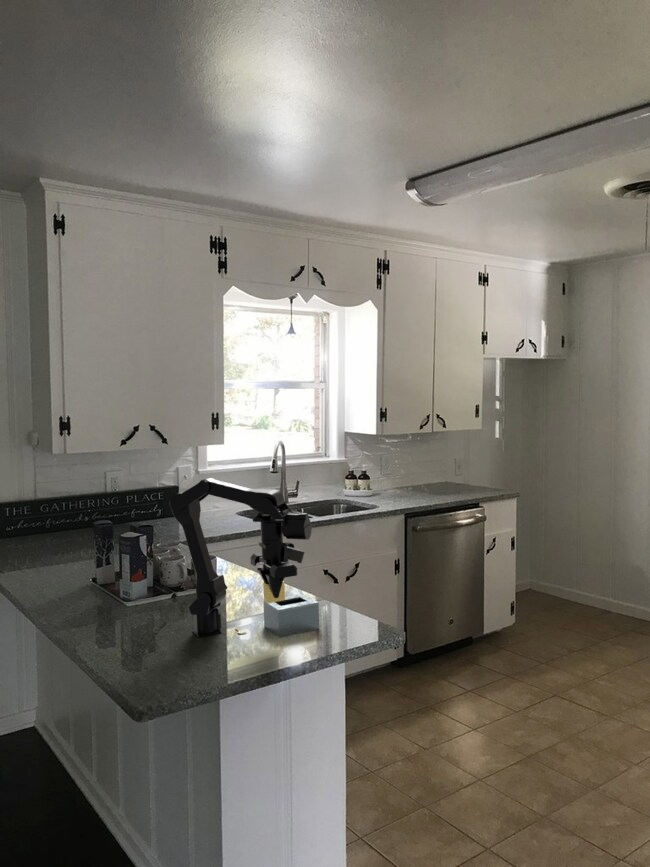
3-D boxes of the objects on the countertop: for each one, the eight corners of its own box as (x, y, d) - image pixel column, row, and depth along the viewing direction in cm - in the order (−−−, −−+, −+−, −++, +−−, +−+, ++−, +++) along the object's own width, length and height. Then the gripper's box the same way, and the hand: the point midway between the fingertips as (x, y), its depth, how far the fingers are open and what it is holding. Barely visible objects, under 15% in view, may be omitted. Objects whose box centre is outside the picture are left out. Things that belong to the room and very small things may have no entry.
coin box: (279, 637, 195) (278, 610, 195) (264, 626, 204) (263, 600, 203) (319, 628, 201) (318, 602, 200) (303, 618, 210) (302, 593, 209)
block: (267, 603, 192) (266, 584, 192) (264, 600, 194) (263, 582, 194) (285, 600, 194) (284, 581, 194) (281, 597, 197) (280, 579, 196)
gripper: (314, 540, 188) (317, 600, 189) (286, 528, 205) (288, 583, 206) (274, 546, 183) (277, 607, 185) (248, 533, 200) (251, 589, 201)
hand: (274, 596), depth 194 cm, fingers closed on block, 2 cm apart
